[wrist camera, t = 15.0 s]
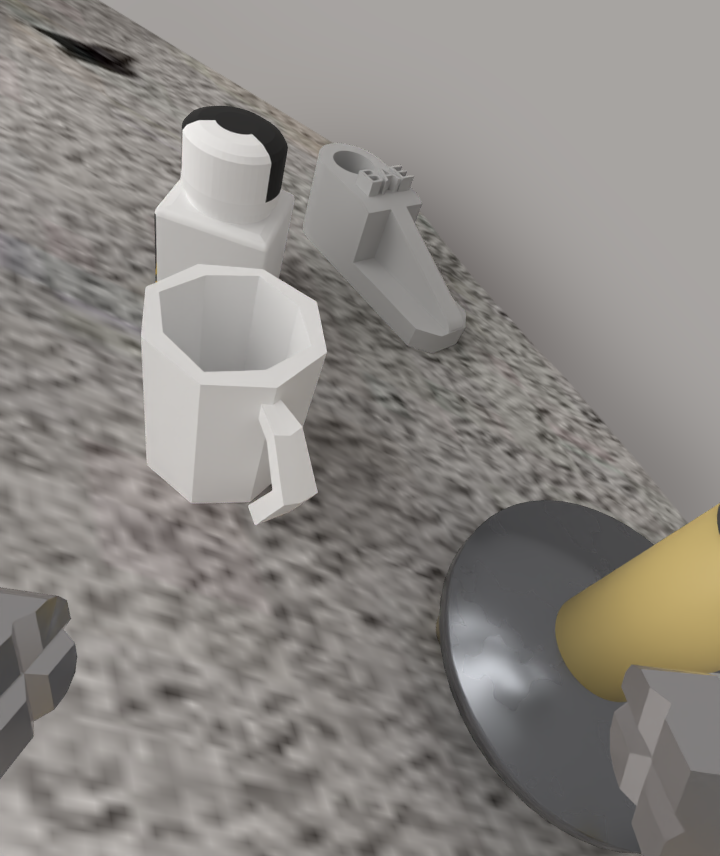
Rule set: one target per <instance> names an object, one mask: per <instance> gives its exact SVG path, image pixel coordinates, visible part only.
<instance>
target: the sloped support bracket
mask: <svg viewBox="0 0 720 856" xmlns="http://www.w3.org/2000/svg"><path fill="white" fill-rule="evenodd" d="M401 168H402V166H401V165H397V166H390V167H388V166H387V165H386V164H385V163H384V162H382V161H381V160H380V159H379V158H378V157H377V156H375V155H374V154H372V153H371V152H369V151H367V150H365V149H362V148H359V147H357V146H353V145H349V144H343V143H331V144H327V145H325V146H323V147H322V148H321V149H320V151H319V155H318V160H317V164H316V169H315V174H314V178H313V183H312V187H311V192H310V196H309V201H308V205H307V210H306V214H305V219H304V223H303V232H304V234H305V236H306V237H307V238H308V239H309V241H310V242H311V243H312V244H313V245H314V246H315V247H316V248H317V249H318V250H319V251H320V252H321V253H322V255H323V256H324V257H325V258H326V259H327V260H328V261H329V262H330V263H331V264H332V265H333V266H334V267H335V269H336V270H337V271H338V272H339V273H340V274H341V275H342V276H343V277H344V278H345V279H346V280H347V281H348V282H349V284H350V285H351V286H352V287H353V288H354V289H355V290H356V291H357V292H358V293H359V294H360V295H361V296H362V298H363V299H364V300H365V301H366V302H367V303H368V304H369V305H370V306H371V307H372V308H373V309H374V310H375V311H376V313H377V314H378V315H379V316H380V317H381V318H382V319H383V320H384V321H385V322H386V323H387V324H388V325H389V327H390V328H391V329H392V330H393V331H394V332H395V333H396V334H397V335H398V336H399V337H400V338H401V339H402V340H403V342H404V343H405V344H406V345H407V346H409V347H413V348H416V349H419V350H423V351H426V352H429V353H435V352H437V351H440V350H442V349H445V348H447V347H450V346H452V345H455V344H456V343H457V341H458V340H459V338H460V336H461V334H462V333H463V331H464V329H465V326H466V311H465V310H464V309H463V308H462V307H461V306H460V305H459V304H458V303H457V302H456V301H455V300H454V299H453V298H452V296H451V294H450V292H449V290H448V288H447V286H446V284H445V282H444V280H443V278H442V276H441V274H440V272H439V270H438V268H437V266H436V264H435V262H434V260H433V258H432V256H431V254H430V252H429V250H428V248H427V247H426V245H425V243H424V241H423V239H422V237H421V235H420V233H419V231H418V229H417V227H416V225H415V221H416V218H417V216H418V213H419V211H420V208H421V206H422V202H421V200H420V198H419V196H418V194H417V192H416V191H414V190H413V189H412V188H411V187H410V186H411V183H412V181H413V178H414V176H413V175H411V176H405V175H406V173H407V171H406V170H403V171H401Z"/></svg>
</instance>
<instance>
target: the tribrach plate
mask: <svg viewBox="0 0 720 856" xmlns="http://www.w3.org/2000/svg"><path fill="white" fill-rule="evenodd" d="M652 546H654V544H652V543H651V542H650V541H649V540H647V539H646V538H645V537H643V536H642V535H640V534H639V533H637V532H636V531H634V530H633V529H631V528H630V527H628V526H627V525H625V524H623V523H621V522H620V521H618V520H616V519H614V518H612V517H610V516H608V515H606V514H603V513H601V512H599V511H596V510H594V509H591V508H588V507H584V506H581V505H578V504H573V503H568V502H563V501H550V500H542V501H530V502H525V503H520V504H516V505H513V506H511V507H508V508H506V509H503V510H501V511H500V512H498V513H496V514H495V515H493V516H491V517H490V518H489V519H487V520H486V521H485V522H484V523H483V524H482V525H481V526H479V527H478V528H477V529H476V530H475V531H474V533H473V534H472V535H471V536H470V537H469V538H468V539H467V540H466V542H465V543H464V544H463V545H462V547H461V548H460V549H459V550H458V552H457V554H456V556H455V558H454V559H453V561H452V563H451V565H450V568H449V570H448V573H447V576H446V578H445V581H444V586H443V591H442V595H441V601H440V613H439V616H438V619H437V623H436V634H437V638H438V641H439V644H440V645H441V651H442V657H443V663H444V668H445V671H446V675H447V679H448V682H449V686H450V689H451V692H452V695H453V697H454V700H455V702H456V705H457V707H458V710H459V712H460V715H461V717H462V719H463V721H464V722H465V724H466V726H467V728H468V730H469V732H470V734H471V736H472V738H473V740H474V741H475V743H476V744H477V746H478V747H479V749H480V750H481V752H482V753H483V755H484V756H485V758H486V759H487V761H488V763H489V764H490V765H491V766H492V768H493V769H494V770H495V771H496V772H497V774H498V775H499V776H500V777H501V779H502V780H503V781H504V782H505V783H506V785H507V786H508V787H509V788H510V789H511V790H512V791H513V792H514V793H515V794H516V795H517V796H518V797H519V798H520V799H521V800H522V801H523V802H524V803H525V804H526V805H527V806H529V807H530V808H531V809H533V810H534V811H535V812H536V813H538V814H539V815H540V816H542V817H543V818H544V819H545V820H547V821H548V822H549V823H551V824H552V825H554V826H556V827H557V828H559V829H561V830H562V831H564V832H566V833H568V834H569V835H571V836H573V837H575V838H577V839H580V840H582V841H584V842H587V843H589V844H592V845H594V846H596V847H600V848H604V849H609V850H613V851H617V852H624V853H639V854H642V852H641V850H640V847H639V844H638V841H637V838H636V835H635V832H634V830H633V827H632V824H631V823H632V819H633V816H634V813H635V810H636V805H635V804H634V803H633V802H632V801H631V800H630V799H629V798H628V797H627V796H626V795H625V794H624V793H623V792H622V791H621V790H620V789H619V786H618V783H617V779H616V776H615V773H614V770H613V765H612V760H611V755H610V728H611V723H612V719H613V715H614V711H616V710H617V709H618V708H620V707H621V706H622V705H624V704H625V703H627V701H626V702H613V701H609V700H605V699H603V698H601V697H598V696H597V695H595V694H593V693H592V692H590V691H589V690H588V689H586V688H585V687H584V686H583V685H582V684H581V683H580V682H579V681H578V680H577V679H576V678H575V677H574V676H573V674H572V673H571V672H570V670H569V669H568V667H567V666H566V664H565V662H564V660H563V658H562V656H561V654H560V651H559V648H558V645H557V640H556V633H555V624H556V618H557V615H558V612H559V610H560V608H561V607H562V605H563V604H564V603H565V602H566V601H568V600H569V599H570V598H572V597H574V596H575V595H577V594H578V593H580V592H581V591H583V590H585V589H586V588H588V587H589V586H591V585H592V584H594V583H596V582H597V581H599V580H600V579H602V578H603V577H605V576H607V575H608V574H610V573H611V572H613V571H614V570H616V569H617V568H619V567H621V566H622V565H624V564H625V563H627V562H628V561H630V560H632V559H633V558H635V557H636V556H638V555H639V554H641V553H643V552H644V551H646V550H647V549H649V548H650V547H652ZM713 673H720V670H719V671H716V672H713Z"/></svg>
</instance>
